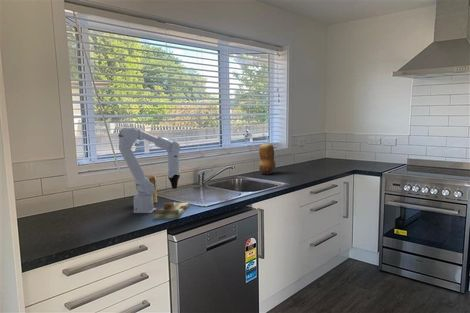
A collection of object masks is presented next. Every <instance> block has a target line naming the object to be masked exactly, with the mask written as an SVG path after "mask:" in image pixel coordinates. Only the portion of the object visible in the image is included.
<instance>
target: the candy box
mask: <svg viewBox="0 0 470 313" xmlns="http://www.w3.org/2000/svg"><path fill="white" fill-rule="evenodd" d="M145 176H146V177H147V178H148V179H149V181H150V182H151V183H152V184H153V185H154V187H155V190H154V192H153V204H155V203H156V204H157V202H158V196H157V195H158V194H157V193H158V192H157V191H158V190H157V176H156V175H145Z"/></svg>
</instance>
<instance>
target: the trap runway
mask: <svg viewBox="0 0 470 313" xmlns="http://www.w3.org/2000/svg"><path fill="white" fill-rule="evenodd" d="M189 205H190V203H189V202H174V210H164V208H159V209H156V210H154V211H153V219H180V217H181V216H182V215H183V214H184V212H185V211H186V210H187V209H188V208H189V207H190V206H189Z"/></svg>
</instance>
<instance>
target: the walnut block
mask: <svg viewBox="0 0 470 313" xmlns="http://www.w3.org/2000/svg"><path fill="white" fill-rule="evenodd" d="M174 203H175V202H173V201H172V202H171V201H169V202H168V201H166V202H164V203H163V209H164V210H174Z"/></svg>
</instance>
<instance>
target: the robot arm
mask: <svg viewBox="0 0 470 313" xmlns="http://www.w3.org/2000/svg"><path fill="white" fill-rule="evenodd" d="M117 137H118V150H119V152H120V155H121V156H122V158H123V159H124V161H125V163H126V165H127V167H128V168H129V171H130V172H131V175H132V176H133V178H134V184H135V189H136V191H137V193H136V194H135V195H134V196H133V201H132V202H133V214H152V213H154V210H157V208H156V207H154V203H153V192H154V190H155V187H154V185H153V184H152V183H151V182H150V181H149V179H148V178H147V177H146V176H147V175H145V173H144V171H143V169H142V167H141V165H140V164H139V161H138V160H137V158H136V156H135V154H134V152H133V150H132V148H133V145H134V144H135V142H136V141H137V140H141V139H142V140H145V141H148V142H151V143H154V145H155V147H157V148H160V149H161V150H165V151H166V152H167V167H168V169H167V170H168V172H167V174H168V176H167V178H168V180H169V182H170V186H171V189H173V190H174V189H175V190H176V189H178V188H177V187H178V184H179V179H180V176H181V175H180V174H181V173H182V171H181V170H180V162H179V161H180V160H179V159H180V158H179V153H180V150H181V146H180V144H179V143H178V142H177V141H172V139H171V138H170V139H168V138H166V137H165V136H164V135H159V136H155V135H153V134H150V133H148V132H146V131H144V130H141V129H137V128H135V127H131V128H130V127H123V128H121V129H120V131H119V133H118V135H117Z"/></svg>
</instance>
